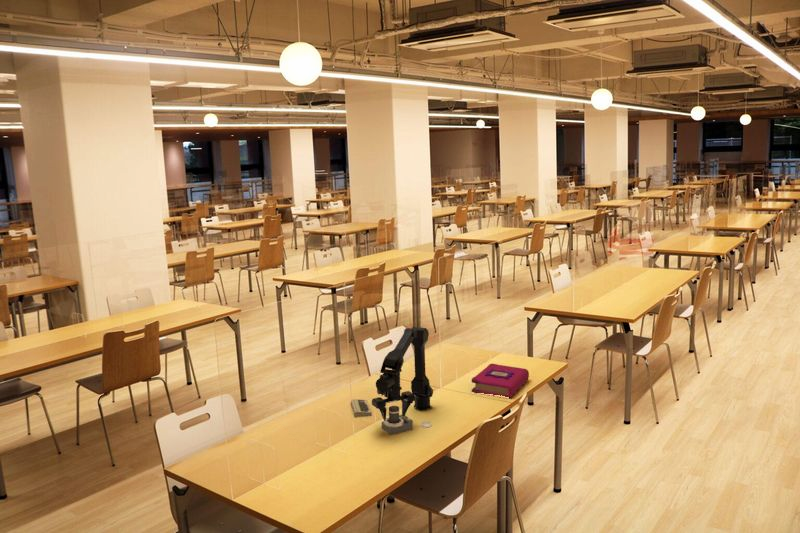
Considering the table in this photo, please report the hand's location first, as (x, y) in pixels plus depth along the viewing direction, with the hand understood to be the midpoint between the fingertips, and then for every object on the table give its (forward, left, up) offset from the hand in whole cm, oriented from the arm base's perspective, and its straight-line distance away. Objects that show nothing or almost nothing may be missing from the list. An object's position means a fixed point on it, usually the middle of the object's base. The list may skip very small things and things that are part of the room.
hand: (393, 418), depth 296 cm
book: (-71, -19, -6) cm, 74 cm away
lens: (0, 0, -2) cm, 2 cm away
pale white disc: (-14, +3, -6) cm, 16 cm away
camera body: (-1, 0, -5) cm, 5 cm away
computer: (+3, -27, -6) cm, 28 cm away
